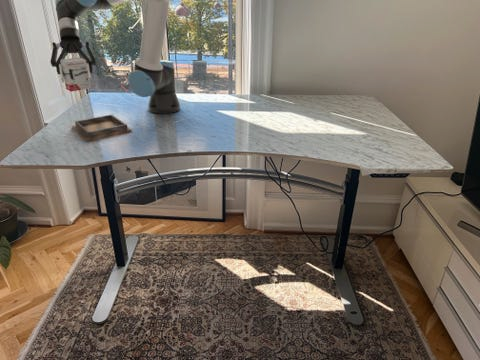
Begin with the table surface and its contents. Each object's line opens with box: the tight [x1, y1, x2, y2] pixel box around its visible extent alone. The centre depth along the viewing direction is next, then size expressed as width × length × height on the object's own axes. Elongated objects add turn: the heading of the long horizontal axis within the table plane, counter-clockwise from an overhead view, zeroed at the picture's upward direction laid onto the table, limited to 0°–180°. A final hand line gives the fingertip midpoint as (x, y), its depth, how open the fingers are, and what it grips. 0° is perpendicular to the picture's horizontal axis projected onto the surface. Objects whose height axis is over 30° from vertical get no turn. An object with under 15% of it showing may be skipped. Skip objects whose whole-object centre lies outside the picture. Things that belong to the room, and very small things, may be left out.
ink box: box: [60, 57, 92, 92], centre depth 139 cm, size 8×5×12 cm, turn 135°
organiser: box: [71, 114, 133, 142], centre depth 140 cm, size 18×18×3 cm
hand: (76, 79), depth 137 cm, fingers closed on ink box, 9 cm apart
